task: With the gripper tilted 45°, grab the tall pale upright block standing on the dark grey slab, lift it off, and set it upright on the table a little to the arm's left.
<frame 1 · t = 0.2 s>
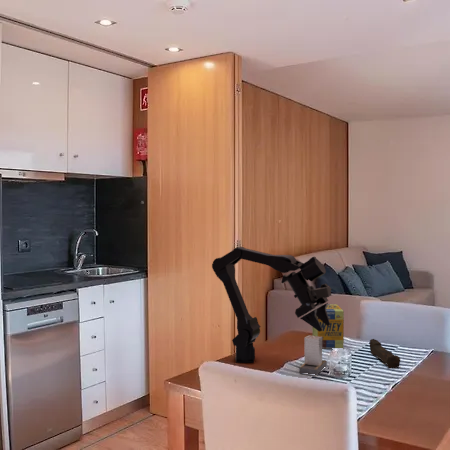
hand: (325, 328, 178), 15 cm above the table, fingers open, 9 cm apart
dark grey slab: (313, 369, 180), on the table
pale upright block: (313, 363, 180), point 2 cm above the table, touching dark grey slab
dark brown rod: (380, 360, 193), on the table
protein box: (327, 345, 214), on the table
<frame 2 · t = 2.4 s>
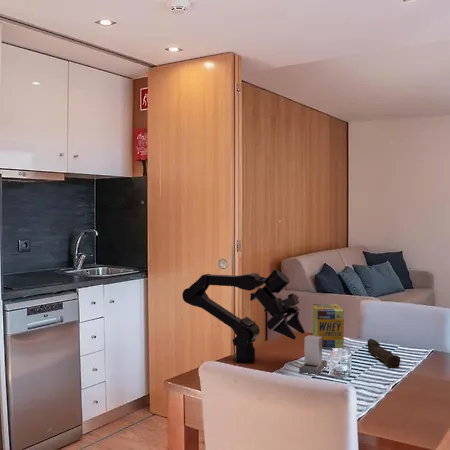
hand: (299, 335, 182), 11 cm above the table, fingers open, 9 cm apart
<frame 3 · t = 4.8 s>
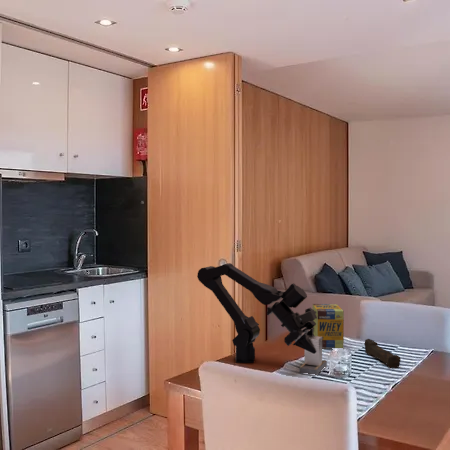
hand: (317, 351, 179), 7 cm above the table, fingers closed on pale upright block, 4 cm apart
pale upright block: (313, 363, 180), point 2 cm above the table, touching gripper, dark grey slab
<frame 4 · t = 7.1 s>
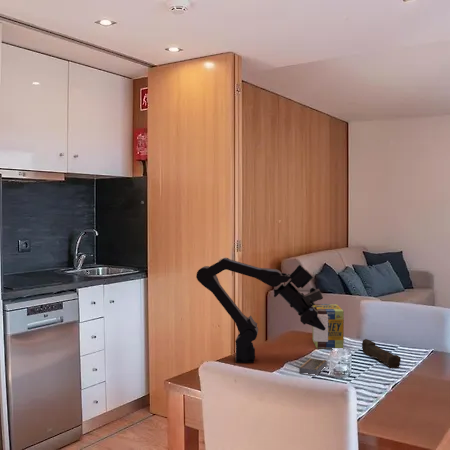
hand: (324, 328, 188), 13 cm above the table, fingers closed on pale upright block, 4 cm apart
pale upright block: (320, 340, 188), point 8 cm above the table, touching gripper
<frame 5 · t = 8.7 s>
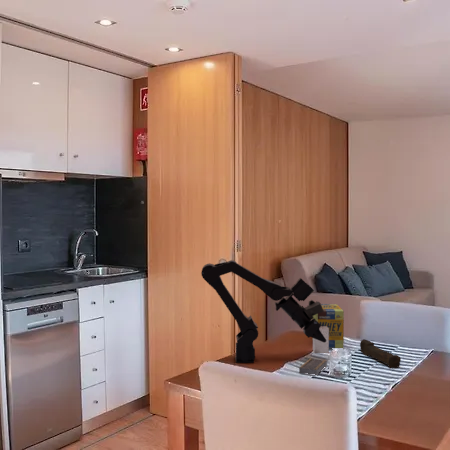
hand: (324, 340, 192), 7 cm above the table, fingers closed on pale upright block, 4 cm apart
pale upright block: (320, 351, 192), point 3 cm above the table, touching gripper
when the fingers open (6 cm above the table, at t = 9.6 s): pale upright block drops 2 cm, on the table.
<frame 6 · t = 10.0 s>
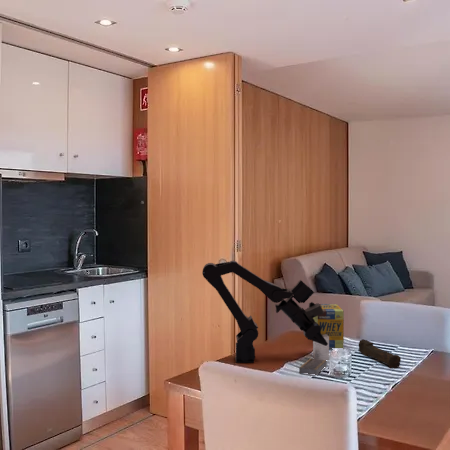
hand: (324, 342, 192), 7 cm above the table, fingers open, 8 cm apart
pale upright block: (320, 359, 192), on the table
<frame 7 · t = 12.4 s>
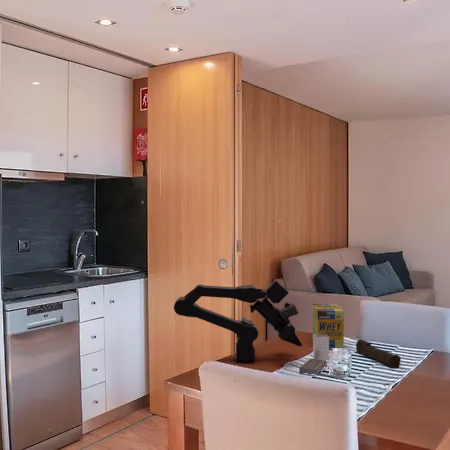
hand: (299, 342, 192), 6 cm above the table, fingers open, 9 cm apart
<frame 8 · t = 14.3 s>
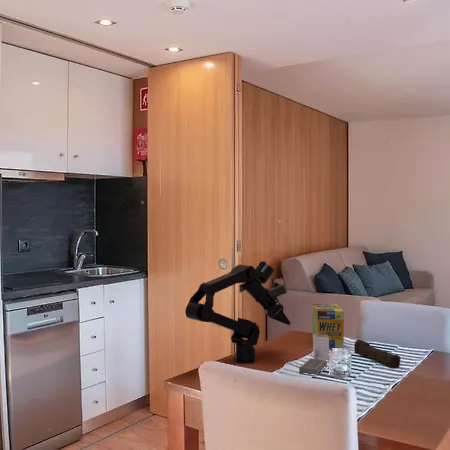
hand: (288, 321, 195), 14 cm above the table, fingers open, 9 cm apart
at the end: pale upright block touching table; pale upright block inside the target area (0.5 cm from its centre), on the table; pale upright block tilted 0° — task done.
